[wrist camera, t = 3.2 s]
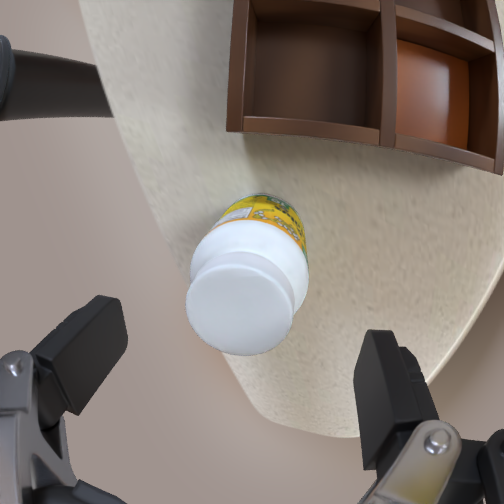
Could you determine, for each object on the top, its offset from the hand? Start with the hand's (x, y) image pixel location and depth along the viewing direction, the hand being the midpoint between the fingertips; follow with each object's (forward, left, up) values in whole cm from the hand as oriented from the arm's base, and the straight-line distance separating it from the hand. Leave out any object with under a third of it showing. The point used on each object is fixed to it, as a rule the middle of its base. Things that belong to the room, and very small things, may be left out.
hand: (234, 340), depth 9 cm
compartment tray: (+6, +14, -11) cm, 19 cm away
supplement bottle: (0, 0, -11) cm, 11 cm away
